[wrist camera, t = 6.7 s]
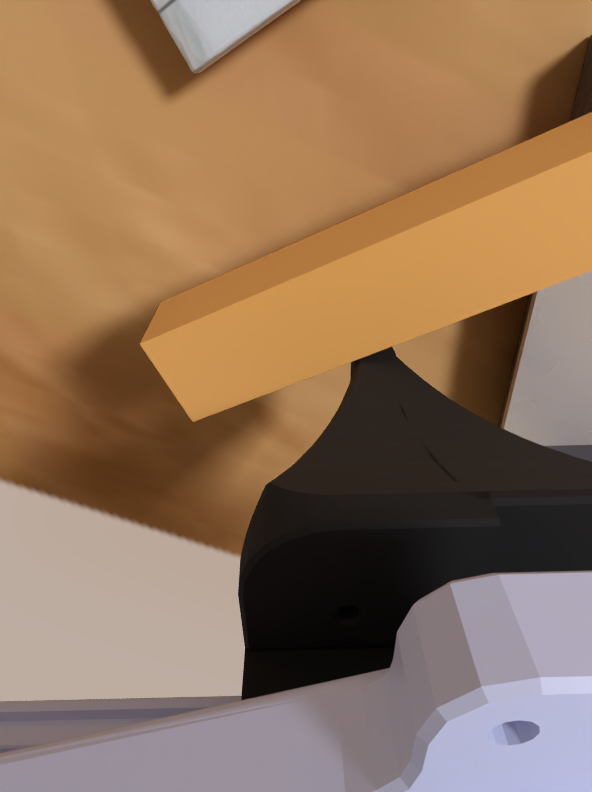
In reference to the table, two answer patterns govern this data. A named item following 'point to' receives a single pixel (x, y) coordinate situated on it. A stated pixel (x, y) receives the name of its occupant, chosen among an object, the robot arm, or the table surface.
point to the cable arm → (383, 275)
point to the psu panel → (556, 352)
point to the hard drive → (215, 25)
